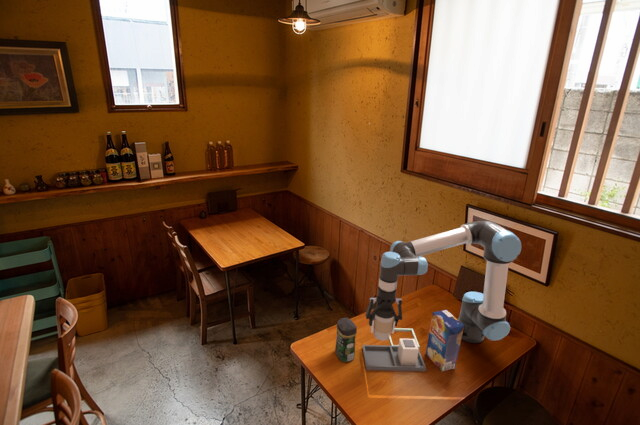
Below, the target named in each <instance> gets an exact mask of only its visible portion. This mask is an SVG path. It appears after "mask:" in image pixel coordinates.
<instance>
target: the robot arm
mask: <svg viewBox="0 0 640 425" xmlns="http://www.w3.org/2000/svg"><path fill="white" fill-rule="evenodd" d="M465 244H466V245H473V244H477V245H480V246H481V247H483V259H484V260H485V261H486V267H485V276H484V277H485V278H484V285H483V293H482V292H478V291H468V292H465V293H464V294H463V295H462V296H463V297H462V300H461V306H460V312H459V316H458V317H457V318H456V319H457V320H459V321H460V322H461V323H462V324H463V325H464V329H463V333H462V338H461V341H464V342H467V343H471V344H472V343H473V344H478V343H479V344H480V343H482V342H483V341H484V339H485V337H486V338H487V340H489V341H501V340H503V338H505V337H506V336H508V335H509V333H510V331H511V326H510V323H509V322H508V321H507V320H506V318H507V310H506V309H505V308H504V304H505V296H506V295H505V294H506V289H507V288H506V287H507V280H508V273H509V264H511V263H513V262H514V261H515V259H517V258H518V256H519V255H520V254H521V251H522V241H521V240H520V237H518V236H517V235H516V234H515V233H514V232H512V231H510V230H508V229H506V228H504V227H502V226H501V225H499V224H498V223H497V222H494V221H490V220H477V221H472V222H471V221H470V222H467V223H464V224H461V225H460V227H457V228H454V229H451V230H447V231H443V232H439V233H436V234H435V233H434V234H433V235H427V236H426V237H421V238H418V239H415V240H411V241H408V242H407V241H406V242H404V241H401V240H396V241H394V242H393V243H392V244H391V245H390V248H389V249H390V251H385V252H383V254H382V255H381V260H380V268H379V269H380V271H379V278H378V287H377V294H376V296H375V297H373V296H370V297H369V303H368V306H367V309H366V311H365V319H366V320H368V326H370V334H374V317H375V313H376V312H377V311H378V310H380V309H381V308H382V307H390V309H391V310H393V312H395V313H394V314H395V315H394V320H393V324H392V329H391V331H390V333H391V334H392V335H393V334H395V331H394V328H396V327H398V323H399V320H400V321H402V320H403V313H402V311H403V310H402V309H403V308H402V303H403V300H402V298H401V297H398V298H397V297H396V294H397V287H398V286H397V285H398V279H399V277H401V276H418V275H419V276H421V275H425V274H426V273H428V267H429V264H428V261H427V259H426V257H424V255H425V256H426V255H428V254H433V253H436V252H440V251H443V250H446V249H450V248H453V247H457V246H460V245H465ZM376 302H377V303H376ZM375 303H376V305H375V306H374V304H375ZM395 303H396V304H397V313H396V311H394V310H395V308H394V306H393V305H394V304H395ZM374 309H375V311H374Z"/></svg>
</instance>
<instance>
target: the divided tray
mask: <svg viewBox="0 0 640 425" xmlns="http://www.w3.org/2000/svg"><path fill="white" fill-rule="evenodd" d="M418 349H419V351H418V357H417V363H416V366H415V365H401V364H400V361H399V358H398V354H397V353H398V346H391V345H385V344H384V345H383V344H382V345H380V344H362V353H363V358H364V364H365V365H364V366H365V370H366V371H387V372H388V371H394V372H395V371H396V372H398V371H399V372H426V371H427V367H426V364H425V362H424V359H423V357H422V356H423V355H422V354H421V351H420V348H418Z"/></svg>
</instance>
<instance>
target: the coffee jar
mask: <svg viewBox="0 0 640 425" xmlns="http://www.w3.org/2000/svg"><path fill="white" fill-rule="evenodd" d="M357 329H358V328H357V325H356V324H355V323H354V321H353V320H352V319H351V318H348V317H343V318H339V319H338V320H337V323H336V337H335V338H336V339H335V348H334V352H335V354H336V356H337V358H338V359H339V361H341V362H344V363H346V362H347V363H348V362H351V361H353V360H355V355H356V350H355V349H356V336H357V332H358V331H357Z"/></svg>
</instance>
